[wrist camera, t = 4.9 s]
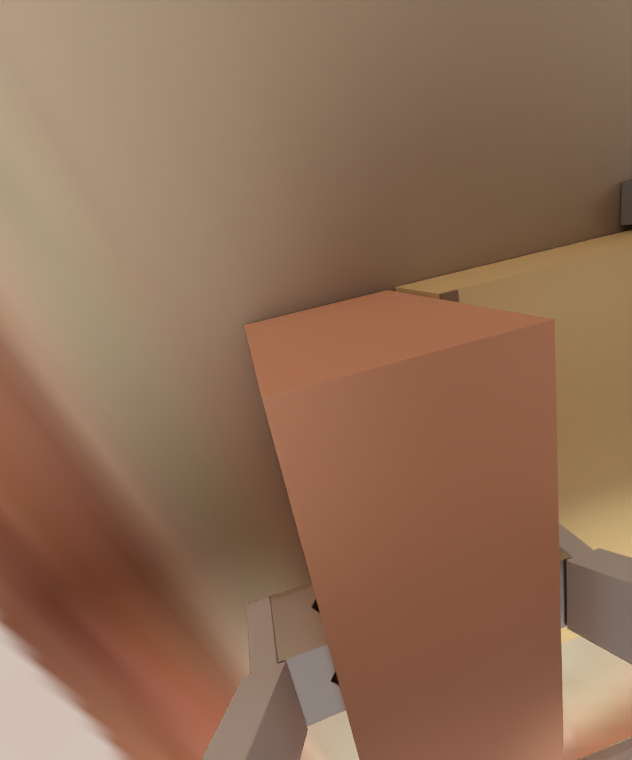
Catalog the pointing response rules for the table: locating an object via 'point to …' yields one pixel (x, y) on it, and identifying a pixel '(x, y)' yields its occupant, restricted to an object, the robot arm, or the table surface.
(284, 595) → the robot arm
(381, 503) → the block
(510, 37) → the table surface
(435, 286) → the yellow slab with bar
